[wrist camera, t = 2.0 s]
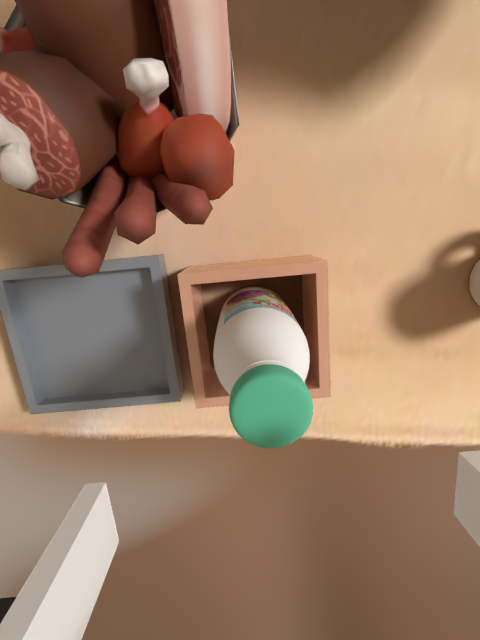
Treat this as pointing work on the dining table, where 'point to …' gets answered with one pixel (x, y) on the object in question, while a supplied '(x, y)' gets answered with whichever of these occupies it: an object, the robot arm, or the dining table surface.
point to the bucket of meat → (118, 113)
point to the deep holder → (308, 266)
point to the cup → (475, 283)
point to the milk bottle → (263, 368)
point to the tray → (92, 335)
